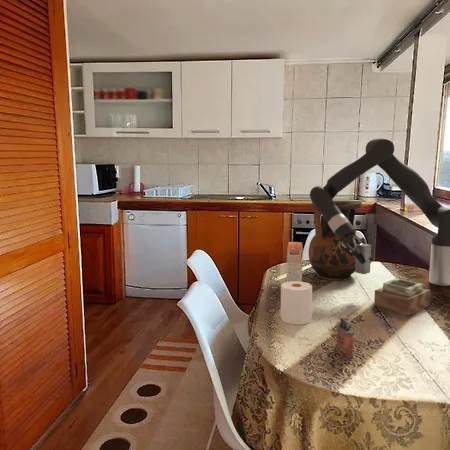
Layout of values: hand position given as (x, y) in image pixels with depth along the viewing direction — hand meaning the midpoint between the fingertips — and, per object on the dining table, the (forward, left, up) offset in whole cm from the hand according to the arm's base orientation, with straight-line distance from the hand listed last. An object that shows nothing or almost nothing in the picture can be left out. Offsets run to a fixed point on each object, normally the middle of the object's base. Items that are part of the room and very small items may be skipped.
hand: (367, 261), depth 155 cm
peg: (0, -2, -5) cm, 5 cm away
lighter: (+44, +21, -15) cm, 51 cm away
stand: (-4, +13, -15) cm, 20 cm away
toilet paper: (+36, -4, -15) cm, 39 cm away
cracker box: (+18, -21, -15) cm, 32 cm away
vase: (-18, -28, -15) cm, 36 cm away
